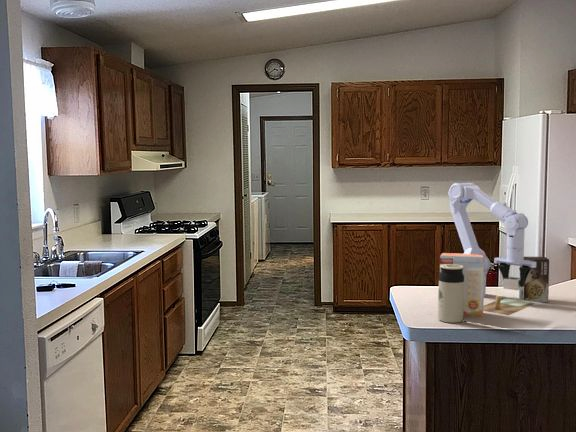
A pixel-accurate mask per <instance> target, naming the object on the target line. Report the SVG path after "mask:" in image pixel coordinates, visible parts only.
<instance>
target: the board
mask: <svg viewBox="0 0 576 432" xmlns="http://www.w3.org/2000/svg"><path fill="white" fill-rule="evenodd" d="M533 305H535V302H534V303H533V302H532V301H526V300H520V299H515V298H508V297H506V298H501V296H500V295H495V300H494V301H492V302H490V303H486V304H483V312H486V313H487V312H488V313H492V314H499V315H505V316H510V315H513V314H515V313H517V312H519V311H521V310H524V309H526V308H529V307H530V306H533Z"/></svg>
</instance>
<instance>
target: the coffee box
mask: <svg viewBox="0 0 576 432" xmlns="http://www.w3.org/2000/svg"><path fill="white" fill-rule="evenodd" d="M524 260H528V261H533V262H536V267H535V268H531V270H530V272H529V274H528V276H527V278H526V281H525V285H524V288H522V289H520V290H518V293H519V294H518V298H519V299H518V300H522V301H528V302H532V303H533V302H534V303H549V289H550V286H549V284H550V283H549V282H550V277H549V276H550V258H547V257H545V256H524ZM522 265H523V264H522ZM520 267H522V266H519V268H520Z"/></svg>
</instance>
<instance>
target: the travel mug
mask: <svg viewBox="0 0 576 432" xmlns="http://www.w3.org/2000/svg"><path fill="white" fill-rule="evenodd" d="M440 267H441V273H440V272H439V274H438V304H437V307H438V308H437V309H438V310H437V319H438V320H439V321H440V322H443V323H448V324H456V323H461V322H463V321H464V315H463V306H464V275H463V273H462V270H463V268H464V267H463V266H462V265H457V264H443V265H440V264H439V268H440Z"/></svg>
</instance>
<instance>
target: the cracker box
mask: <svg viewBox="0 0 576 432" xmlns="http://www.w3.org/2000/svg"><path fill="white" fill-rule="evenodd" d="M443 264H457V265H462V266H463V267H464V268H463V270H462V273H463V275H464V306H463V316H470V317H482V318H483V315H484V311H483V306H484V305H485V304H484V301H485V300H484V299H485V298H484V297H485V296H484V255H477V254H463V253H459V252H457V253H455V252H454V253H453V252H442V253H441V254H440V256H439V274H440V273H441V267H440V265H443Z"/></svg>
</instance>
